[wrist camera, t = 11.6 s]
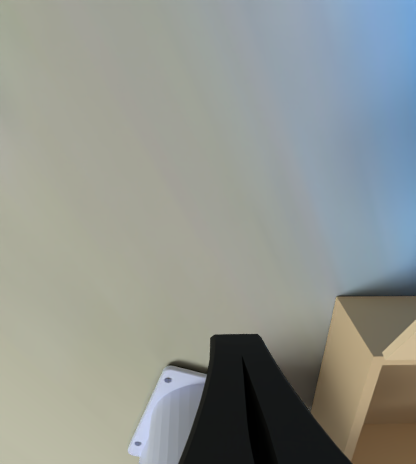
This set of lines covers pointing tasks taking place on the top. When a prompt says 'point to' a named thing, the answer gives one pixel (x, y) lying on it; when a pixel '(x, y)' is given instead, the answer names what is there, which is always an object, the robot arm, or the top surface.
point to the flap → (403, 345)
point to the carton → (368, 381)
